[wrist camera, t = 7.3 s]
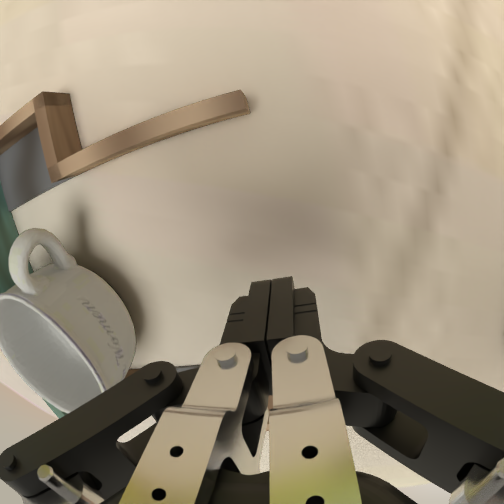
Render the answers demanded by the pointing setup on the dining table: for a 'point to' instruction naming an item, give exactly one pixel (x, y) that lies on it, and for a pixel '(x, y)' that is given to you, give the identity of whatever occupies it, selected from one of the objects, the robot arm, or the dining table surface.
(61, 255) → the teacup
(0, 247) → the teal wooden tray
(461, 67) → the dining table surface
